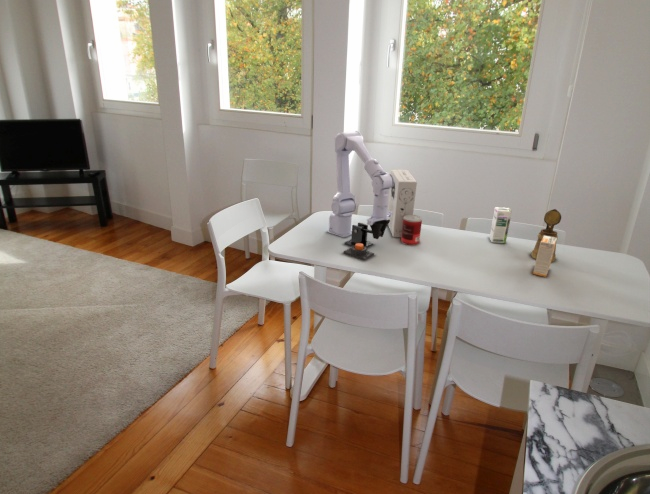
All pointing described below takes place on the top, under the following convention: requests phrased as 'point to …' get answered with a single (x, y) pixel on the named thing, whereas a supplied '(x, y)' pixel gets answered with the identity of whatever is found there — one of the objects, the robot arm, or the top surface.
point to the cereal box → (401, 199)
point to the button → (359, 246)
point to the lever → (368, 230)
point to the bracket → (359, 236)
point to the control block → (359, 253)
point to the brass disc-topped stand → (548, 231)
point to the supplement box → (544, 255)
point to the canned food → (411, 229)
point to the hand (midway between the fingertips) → (377, 237)
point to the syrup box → (500, 225)
